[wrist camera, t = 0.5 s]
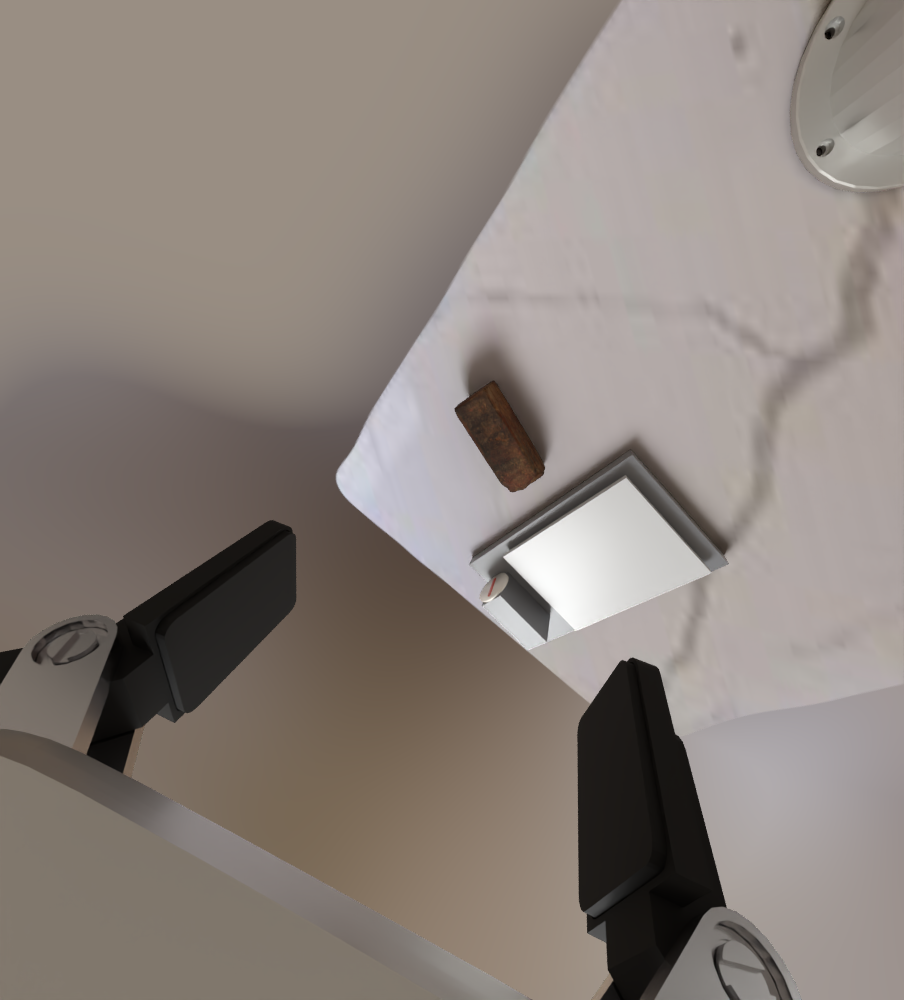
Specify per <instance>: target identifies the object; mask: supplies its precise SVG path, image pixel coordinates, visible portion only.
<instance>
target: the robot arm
mask: <svg viewBox="0 0 904 1000" xmlns="http://www.w3.org/2000/svg"><path fill="white" fill-rule="evenodd" d="M826 32H829V33H831V38H830V40H828V39H826V38H825V35H824V33H826ZM790 126H791V136H792V140H793V143H794V147H795V150H796V154H797V155H798V157H799V159H800V160H801V162H802V163H803V165H804V167H805V168H806V170H807V171H809V172H810V173H811V174H812V175H813V176H814V177H815V178H816V179H818V180H819V181H820V182H822V183H824V184H827V185H829V186H831V187H833V188H835V189H839V190H845V191H850V192H856V193H862V192H881V191H886V190H891V189H895V188H900V187H904V0H832V1H831V3H830V4H829V6H828V8H827V9H826V11H825V13H824V14H823V16H822V18H821V19H820V21H819V23H818V24H817V26H816V28H815V30H814V32H813V34H812V36H811V39H810V41H809V43H808V45H807V47H806V50H805V52H804V54H803V56H802V59H801V62H800V65H799V69H798V72H797V75H796V79H795V82H794V85H793V92H792V99H791V106H790ZM817 148H821V149H822V154H821V155H820V156H817V154H816V149H817ZM295 602H296V536H295V534H293V532H292V529H291V527H289V526H286V525H284V524H281V523H279V522H276V521H273V520H270V521H268V522H266V523H264V524H263V525H261V526H260V527H258V528H257V529H255V530H254V531H252V532H251V533H249V534H248V535H246V536H244V537H243V538H241V539H240V540H238V541H237V542H235V543H234V544H232V545H231V546H229V547H228V548H226V549H225V550H223V551H222V552H220V553H218V554H217V555H215V556H214V557H212V558H211V559H209V560H208V561H206V562H205V563H203V564H202V565H200V566H199V567H197V568H196V569H194V570H193V571H191V572H190V573H188V574H186V575H185V576H183V577H182V578H180V579H179V580H177V581H176V582H174V583H173V584H171V585H170V586H168V587H167V588H165V589H164V590H162V591H160V592H159V593H157V594H156V595H154V596H153V597H151V598H150V599H148V600H147V601H145V602H144V603H142V604H141V605H139V606H138V607H136V608H135V609H133V610H132V611H130V612H128V613H127V614H126V615H124V616H123V617H124V618H123V619H122V620H120V621H119V622H118V623H115V621H114V620H112V619H111V618H109V617H107V616H102V615H82V616H78V617H73V618H69V619H66V620H63V621H61V622H58V623H56V624H54V625H52V626H50V627H48V628H46V629H44V630H42V631H41V632H40V633H38V634H37V635H36V636H34V637H33V638H32V639H30V641H29V642H28V643H27V644H26V645H25V647H24V648H21V649H16V650H10V651H5V652H0V1000H532V999H530V998H528V997H526V996H524V995H523V994H521V993H519V992H518V991H516V990H514V989H513V988H511V987H509V986H508V985H506V984H504V983H502V982H500V981H499V980H497V979H495V978H494V977H492V976H490V975H489V974H487V973H485V972H483V971H481V970H479V969H478V968H476V967H474V966H472V965H471V964H469V963H467V962H465V961H463V960H462V959H460V958H458V957H456V956H454V955H453V954H451V953H449V952H447V951H445V950H443V949H442V948H440V947H438V946H436V945H435V944H433V943H431V942H429V941H428V940H426V939H424V938H422V937H420V936H419V935H417V934H415V933H413V932H411V931H409V930H408V929H406V928H404V927H402V926H401V925H399V924H397V923H395V922H393V921H392V920H390V919H388V918H386V917H384V916H382V915H381V914H379V913H377V912H375V911H374V910H372V909H370V908H368V907H366V906H365V905H363V904H361V903H359V902H357V901H355V900H354V899H352V898H350V897H348V896H346V895H345V894H343V893H341V892H339V891H337V890H336V889H334V888H332V887H330V886H328V885H326V884H325V883H323V882H321V881H319V880H317V879H316V878H314V877H312V876H310V875H308V874H307V873H305V872H303V871H301V870H299V869H297V868H296V867H294V866H292V865H290V864H288V863H287V862H285V861H283V860H281V859H279V858H277V857H276V856H274V855H272V854H270V853H268V852H266V851H265V850H263V849H261V848H259V847H257V846H255V845H254V844H252V843H250V842H248V841H247V840H245V839H243V838H241V837H239V836H237V835H236V834H234V833H232V832H230V831H228V830H226V829H225V828H223V827H221V826H219V825H217V824H215V823H214V822H212V821H210V820H208V819H206V818H204V817H202V816H201V815H199V814H197V813H195V812H193V811H191V810H190V809H188V808H186V807H184V806H182V805H180V804H179V803H177V802H175V801H173V800H171V799H169V798H167V797H165V796H164V795H162V794H160V793H158V792H156V791H155V790H153V789H151V788H149V787H147V786H145V785H143V784H142V783H140V782H138V781H136V780H134V779H132V778H131V777H132V773H133V770H134V765H135V762H136V758H137V754H138V750H139V746H140V743H141V739H142V734H143V731H144V727H145V724H146V723H147V722H148V721H149V720H150V719H151V718H153V717H154V716H155V715H156V714H158V715H160V716H162V717H164V718H166V719H168V720H170V721H172V722H174V723H175V722H176V721H177V720H178V719H179V718H180V717H181V716H182V715H183V714H184V713H189V712H192V711H193V710H194V709H196V708H197V707H198V706H199V705H200V704H201V703H202V702H203V701H204V700H205V699H206V698H207V697H208V695H210V694H211V693H212V691H214V689H215V688H216V687H217V686H218V685H219V684H220V683H221V682H222V681H223V680H224V679H225V678H226V677H227V676H228V675H229V674H230V673H231V672H232V671H233V670H234V669H235V668H236V667H237V666H238V665H239V664H240V663H241V662H242V661H243V660H244V659H245V658H246V657H247V656H248V655H249V653H250V652H252V650H253V649H254V648H255V647H256V646H257V645H258V644H259V643H260V642H261V641H262V640H263V639H264V638H265V637H266V636H267V635H268V634H269V633H270V632H271V631H272V630H273V629H274V628H275V627H276V626H277V624H279V623H280V622H281V621H282V620H283V619H284V618H285V617H286V615H288V614H289V613H290V611H291V610H292V609H293V607H294V605H295ZM577 736H578V737H577V738H578V852H579V853H578V858H579V903H580V907H581V910H582V911H583V912H585V913H587V933H588V934H590V935H592V936H594V937H596V938H598V939H600V940H602V941H604V942H606V944H607V964H608V971H609V975H608V976H607V978H606V979H605V980H604V982H603V983H602V985H601V986H600V988H599V989H598V991H597V992H596V994H595V995H594V996H593V998H592V999H591V1000H802V999H801V996H800V994H799V991H798V989H797V986H796V984H795V981H794V980H793V978H792V976H791V974H790V972H789V971H788V969H787V967H786V965H785V964H784V962H783V960H782V958H781V957H780V955H779V954H778V953H777V951H776V950H775V949H774V947H773V946H772V944H771V943H770V942H769V940H768V939H767V938H766V937H765V936H764V935H763V934H762V933H761V932H760V931H759V930H758V929H757V928H756V927H755V926H754V924H752V923H751V922H750V921H749V920H747V919H746V918H745V917H743V916H742V915H740V914H739V913H737V912H736V911H733V910H730V909H727V907H726V903H725V899H724V895H723V892H722V888H721V884H720V880H719V876H718V872H717V868H716V865H715V861H714V857H713V853H712V849H711V845H710V842H709V838H708V834H707V830H706V826H705V822H704V818H703V815H702V811H701V807H700V803H699V799H698V795H697V792H696V788H695V784H694V780H693V776H692V772H691V768H690V765H689V761H688V757H687V753H686V750H685V747H684V744H683V742H682V741H681V739H680V738H679V736H677V735H675V732H674V728H673V724H672V720H671V715H670V711H669V707H668V703H667V699H666V695H665V691H664V687H663V683H662V679H661V675H660V671H659V669H658V668H657V667H656V666H653V665H651V664H648V663H646V662H643V661H640V660H638V659H635V658H630V659H629V660H628V661H627V662H626V661H624V660H622V661H620V662H619V664H618V665H617V667H616V668H615V670H614V671H613V672H612V674H611V675H610V677H609V678H608V680H607V681H606V683H605V684H604V686H603V687H602V688H601V690H600V691H599V693H598V694H597V696H596V697H595V699H594V700H593V702H592V703H591V704H590V706H589V707H588V709H587V710H586V712H585V713H584V715H583V716H582V718H581V720H580V722H579V726H578V734H577Z"/></svg>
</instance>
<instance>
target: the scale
mask: <svg viewBox="0 0 904 1000" xmlns="http://www.w3.org/2000/svg"><path fill="white" fill-rule="evenodd" d="M728 564H729V563H728V561H727V559H726V558H725V556H724V554H723V553H722V552H721V551H720V550H719V549H718V548H717V547H716V545H715V544H714V543H713V542H712V541H711V540H710V539H709V538H708V536H707V535H706V534H705V533H704V532H703V531H702V530H701V528H700V527H699V526H698V525H697V524H696V523H695V522H694V521H693V519H692V518H691V517H690V516H689V515H688V514H687V513H686V512H685V510H684V509H683V508H682V507H681V506H680V505H679V504H678V502H677V501H676V500H675V499H674V498H673V497H672V496H671V495H670V493H669V492H668V491H667V490H666V489H665V488H664V487H663V485H662V484H661V483H660V482H659V481H658V480H657V479H656V478H655V476H654V475H653V474H652V473H651V472H650V471H649V470H648V469H647V467H646V466H645V465H644V464H643V463H642V462H641V461H640V459H639V458H638V457H637V456H636V455H635V454H634V453H633V452H632V450H629V451H628V452H626V453H625V454H624V455H622V456H621V457H619V458H618V459H616V460H615V461H613V462H612V463H610V464H609V465H608V466H606V467H605V468H603V469H602V470H600V471H599V472H597V473H596V474H594V475H593V476H591V477H590V478H589V479H587V480H586V481H584V482H583V483H581V484H580V485H578V486H577V487H575V488H574V489H572V490H571V491H570V492H568V493H567V494H565V495H564V496H562V497H561V498H559V499H558V500H556V501H555V502H553V503H552V504H551V505H549V506H548V507H546V508H545V509H543V510H542V511H540V512H539V513H537V514H536V515H535V516H533V517H532V518H530V519H529V520H527V521H526V522H524V523H523V524H521V525H520V526H518V527H517V528H516V529H514V530H513V531H511V532H510V533H508V534H507V535H505V536H504V537H502V538H501V539H499V540H498V541H497V542H495V543H494V544H492V545H491V546H489V547H488V548H486V549H485V550H483V551H482V552H480V553H479V554H478V555H476V556H475V557H473V558H472V560H471V562H470V564H469V565H470V566H471V567H472V568H473V569H474V570H475V571H476V572H477V573H478V574H479V575H480V576H481V577H482V578H483V579H484V580H485V581H486V582H487V584H486V585H485V586H484V588H483V589H482V591H481V593H480V597H479V598H480V600H481V601H482V602H483V605H482V607H484V608H485V609H486V610H487V611H488V612H489V613H490V614H491V615H492V616H493V617H494V618H495V619H496V620H497V621H498V622H499V623H500V624H501V625H502V626H503V627H504V628H505V629H506V630H507V631H508V632H509V633H510V634H511V635H512V636H513V637H514V638H515V639H516V640H517V641H518V642H519V643H520V644H521V645H522V646H523V647H524V648H525V649H526V650H527V651H528V650H530V649H533V648H535V647H537V646H539V645H542V644H544V643H546V642H549V641H551V640H554V639H556V638H558V637H561V636H563V635H565V634H568V633H570V632H572V631H578V630H580V629H582V628H585V627H587V626H589V625H592V624H594V623H596V622H599V621H601V620H603V619H606V618H608V617H610V616H613V615H615V614H617V613H620V612H622V611H624V610H627V609H629V608H631V607H634V606H636V605H638V604H641V603H643V602H645V601H648V600H650V599H652V598H655V597H657V596H659V595H662V594H664V593H666V592H669V591H671V590H673V589H676V588H678V587H680V586H683V585H685V584H687V583H690V582H692V581H694V580H697V579H699V578H701V577H704V576H706V575H708V574H711V572H712V571H714V570H716V569H719V568H721V567H723V566H725V565H728Z"/></svg>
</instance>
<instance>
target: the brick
mask: <svg viewBox="0 0 904 1000" xmlns="http://www.w3.org/2000/svg"><path fill="white" fill-rule="evenodd" d="M455 412H456V414H457V417H458V418H459V420H460V421H461V422H462V424H463V426H464V427H465V429H466V430H467V432H468V434H469V435H470V436H471V438H472V440H473V441H474V443H475V444H476V446H477V447H478V449H479V450H480V452H481V453H482V455H483V456H484V458H485V460H486V461H487V463H488V464H489V466H490V467H491V469H492V470H493V472H494V473H495V475H496V476H497V478H498V479H499V481H500V483H501V484H502V485H504V486H505V487H507V488H508V490H509V491H510V492H516V491H518V490H523V489H524V488H526V487H527V486H528V485H529V484H530V483H533V482H534V481H536V480H537V479H538V478H540V477H541V476H543V474H544V470H545V466H544V464H543V462H542V460H541V458H540V456H539V454H538V453H537V450H536V449H535V447H534V445H533V444H532V442H531V440H530V439H529V437H528V435H527V434H526V432H525V430H524V429H523V427H522V425H521V424H520V422H519V420H518V419H517V417H516V416H515V414H514V412H513V410H512V409H511V407H510V405H509V404H508V402H507V400H506V399H505V397H504V396H503V394H502V392H501V391H500V389H499V387H498V386H497V384H496V383H495V382H494V381H492V382H490V383H489V384H487V385H486V386H484V387H483V388H481V389H480V390H478V391H477V392H475V393H474V394H472V395H471V396H470V397H468V398H467V399H466V400H464V401H463V402H461V403H460V404H459V405H458V406H457V407H456V408H455Z"/></svg>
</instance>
